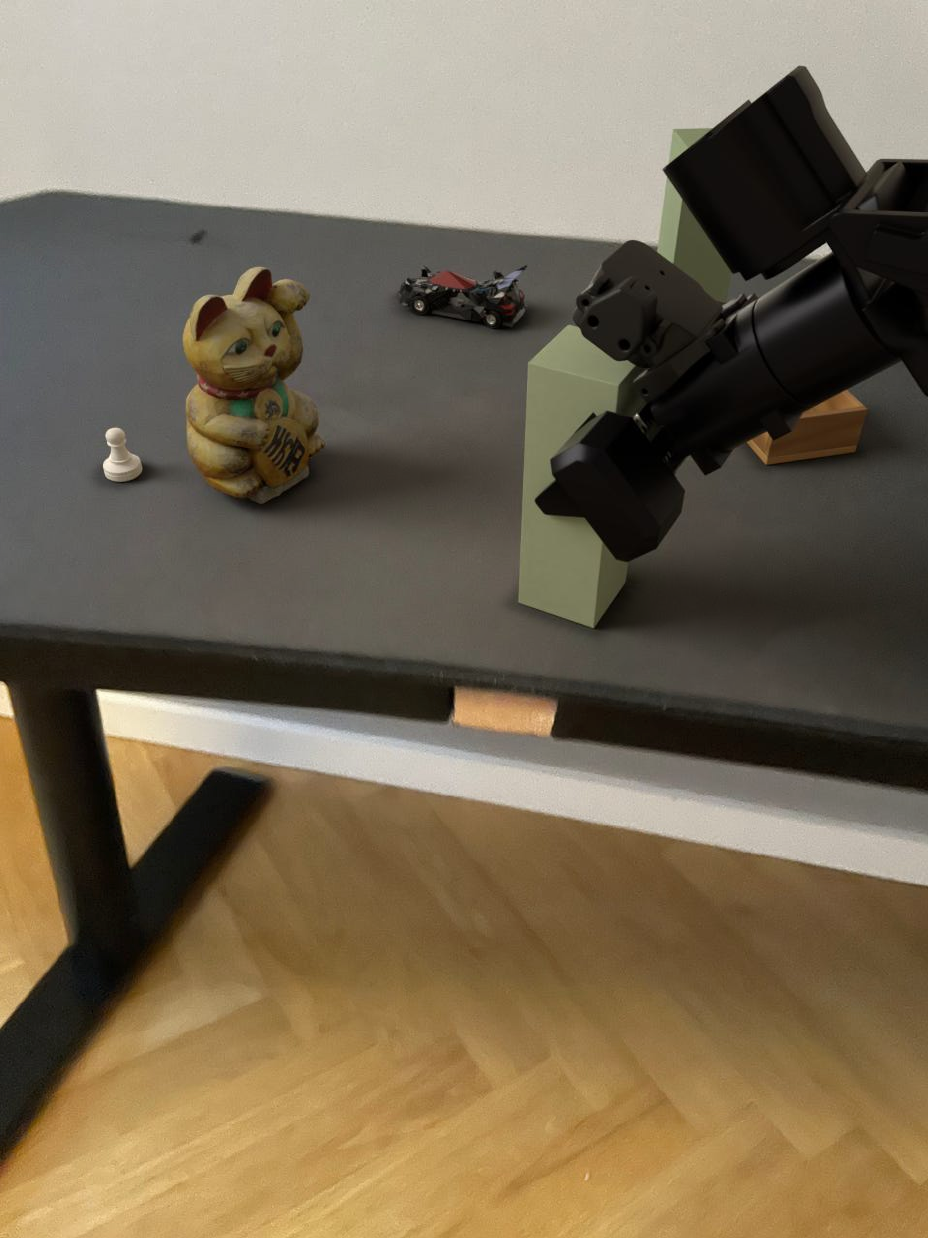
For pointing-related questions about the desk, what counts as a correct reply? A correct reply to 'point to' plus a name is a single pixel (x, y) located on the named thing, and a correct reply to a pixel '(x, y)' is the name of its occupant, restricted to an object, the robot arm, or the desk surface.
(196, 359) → the decorative figurine
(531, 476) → the sage green pillar
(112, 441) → the chess pawn
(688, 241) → the pillar
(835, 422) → the small open wooden box
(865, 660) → the desk surface
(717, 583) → the desk surface
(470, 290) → the toy car
